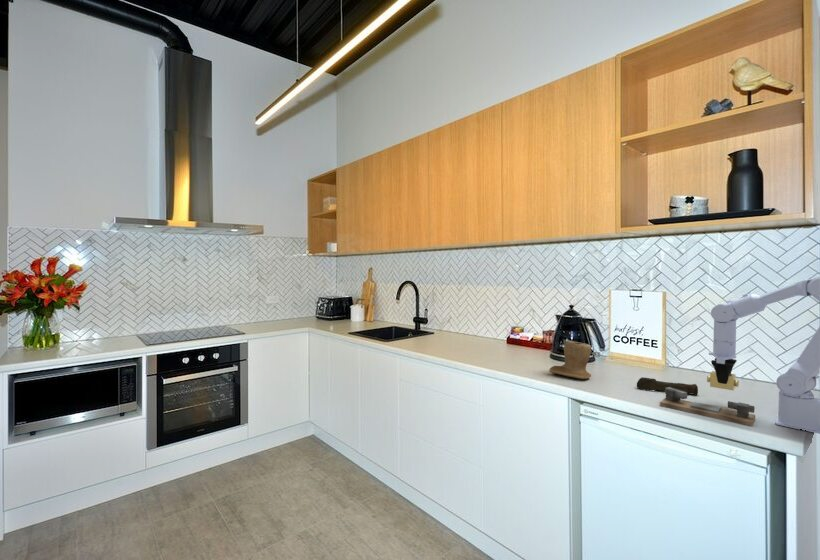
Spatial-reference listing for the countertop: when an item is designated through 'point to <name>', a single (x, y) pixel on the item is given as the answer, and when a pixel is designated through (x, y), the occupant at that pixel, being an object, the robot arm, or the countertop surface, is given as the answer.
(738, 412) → the shaft stand
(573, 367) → the brown flared stand
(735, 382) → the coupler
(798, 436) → the countertop surface
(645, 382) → the hand tool
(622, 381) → the countertop surface
